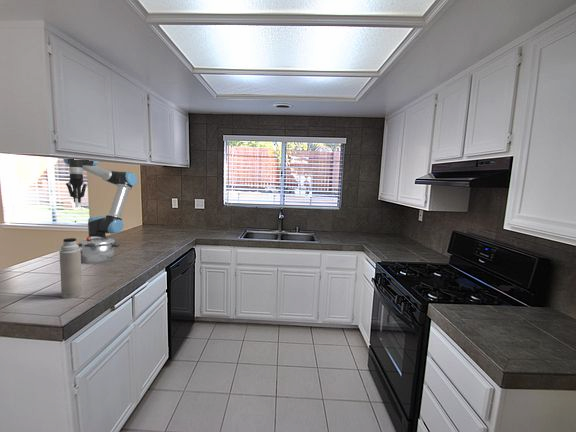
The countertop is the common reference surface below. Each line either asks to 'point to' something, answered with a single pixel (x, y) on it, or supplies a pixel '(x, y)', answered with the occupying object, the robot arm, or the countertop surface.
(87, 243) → the cooker lid
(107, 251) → the cooker pot
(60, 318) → the countertop surface
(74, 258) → the thermos bottle
